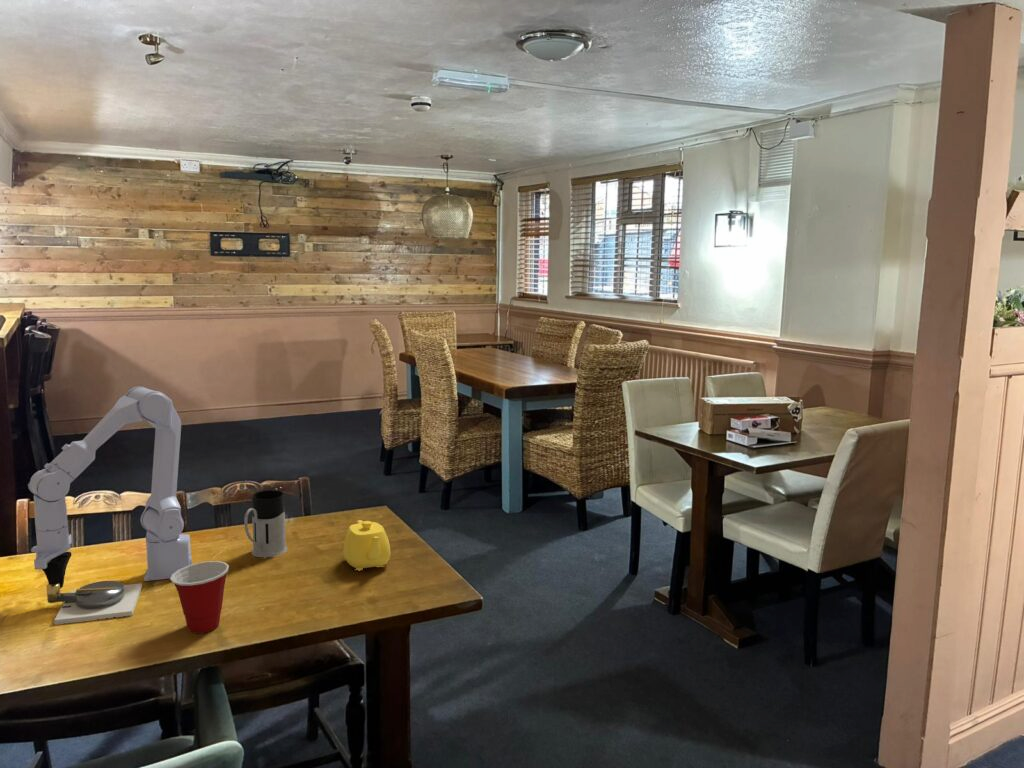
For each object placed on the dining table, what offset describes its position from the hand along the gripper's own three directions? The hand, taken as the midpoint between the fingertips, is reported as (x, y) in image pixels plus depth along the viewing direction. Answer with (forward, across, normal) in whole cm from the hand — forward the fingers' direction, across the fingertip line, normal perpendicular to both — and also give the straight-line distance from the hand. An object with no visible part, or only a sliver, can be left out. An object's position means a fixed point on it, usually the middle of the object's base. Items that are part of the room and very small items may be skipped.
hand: (56, 588), depth 157 cm
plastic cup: (+4, +16, +32) cm, 36 cm away
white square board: (+3, +2, +9) cm, 10 cm away
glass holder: (+4, -20, +40) cm, 45 cm away
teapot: (+3, -10, +65) cm, 66 cm away
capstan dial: (+2, +2, +6) cm, 7 cm away
